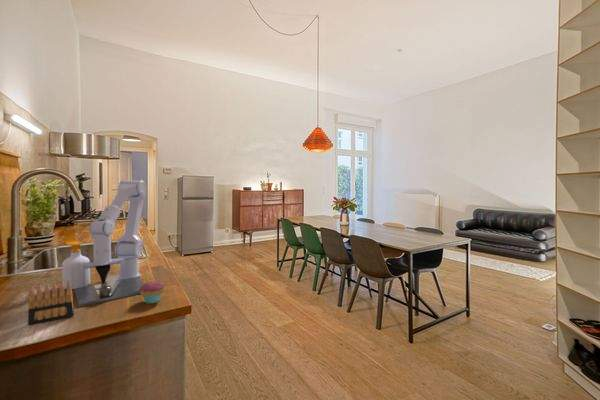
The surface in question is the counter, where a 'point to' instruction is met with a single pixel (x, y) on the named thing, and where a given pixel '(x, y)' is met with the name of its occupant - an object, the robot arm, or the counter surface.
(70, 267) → the soap bottle
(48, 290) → the ammunition clip
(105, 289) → the white long bar
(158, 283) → the cupcake
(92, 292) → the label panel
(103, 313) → the counter surface
